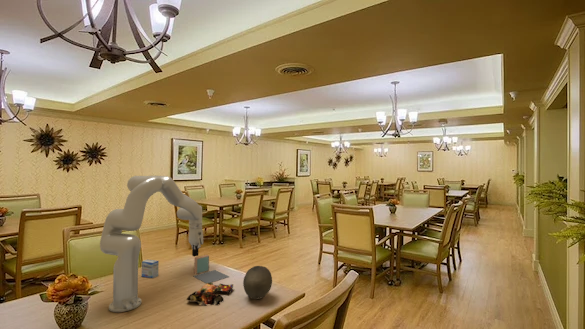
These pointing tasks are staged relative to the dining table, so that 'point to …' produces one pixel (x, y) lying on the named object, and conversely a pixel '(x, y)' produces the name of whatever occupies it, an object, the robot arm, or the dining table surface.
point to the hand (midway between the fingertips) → (195, 255)
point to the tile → (201, 264)
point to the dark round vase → (257, 282)
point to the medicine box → (150, 268)
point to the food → (209, 294)
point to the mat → (211, 276)
